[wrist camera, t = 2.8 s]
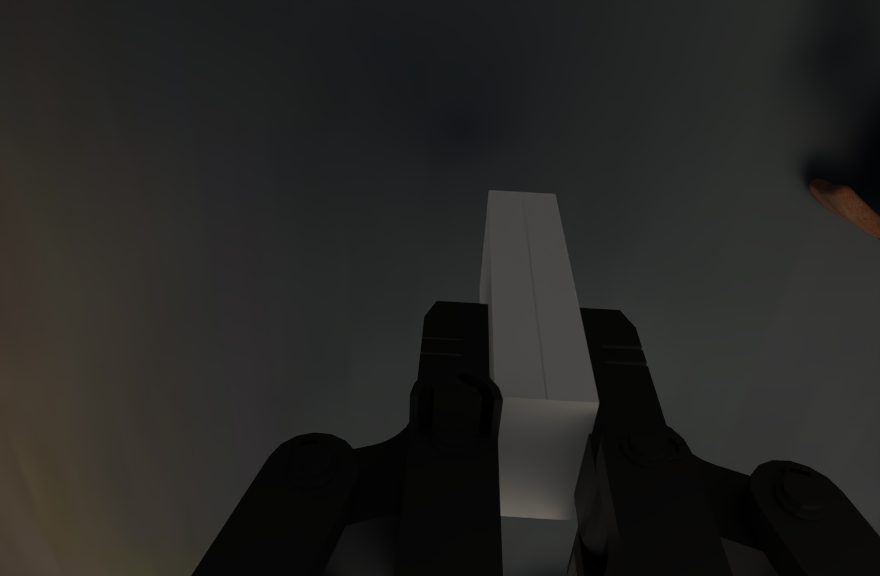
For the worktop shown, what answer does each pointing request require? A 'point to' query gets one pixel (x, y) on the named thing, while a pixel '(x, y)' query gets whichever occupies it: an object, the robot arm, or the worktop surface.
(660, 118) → the worktop surface
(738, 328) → the worktop surface
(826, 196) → the pottery mug
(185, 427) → the worktop surface
